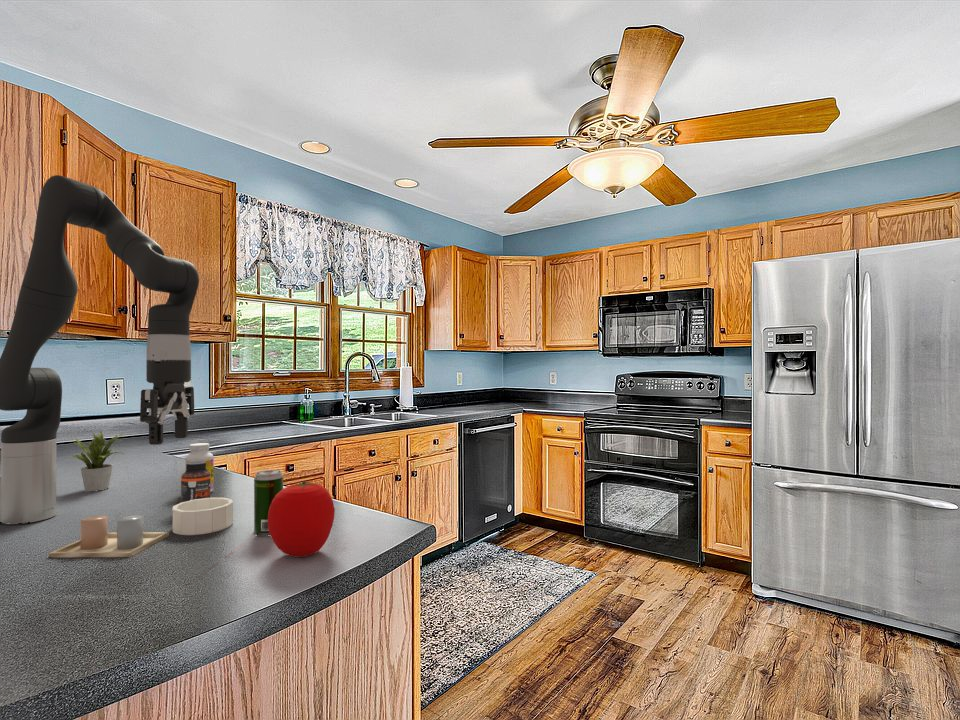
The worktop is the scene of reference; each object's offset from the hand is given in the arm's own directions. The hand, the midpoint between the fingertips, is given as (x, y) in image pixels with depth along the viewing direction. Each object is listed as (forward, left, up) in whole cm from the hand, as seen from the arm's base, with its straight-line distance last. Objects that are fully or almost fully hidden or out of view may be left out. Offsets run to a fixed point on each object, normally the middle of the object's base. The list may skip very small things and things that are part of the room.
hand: (169, 440), depth 101 cm
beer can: (+19, +2, -19) cm, 27 cm away
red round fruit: (+30, -10, -19) cm, 36 cm away
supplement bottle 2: (-4, +17, -19) cm, 26 cm away
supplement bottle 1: (-13, +35, -19) cm, 42 cm away
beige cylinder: (-10, -7, -18) cm, 22 cm away
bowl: (+4, +5, -19) cm, 20 cm away
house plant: (-42, +39, -19) cm, 61 cm away
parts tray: (-6, -7, -19) cm, 21 cm away
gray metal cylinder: (-3, -7, -18) cm, 20 cm away
